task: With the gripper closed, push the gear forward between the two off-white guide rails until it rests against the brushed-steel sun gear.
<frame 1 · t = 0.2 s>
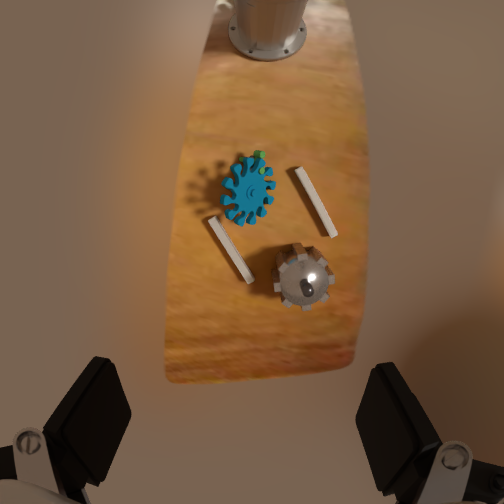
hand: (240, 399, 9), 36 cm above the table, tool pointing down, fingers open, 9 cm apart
sun gear: (298, 269, 46), on the table
gear: (250, 186, 43), on the table
guide rails: (273, 225, 44), on the table
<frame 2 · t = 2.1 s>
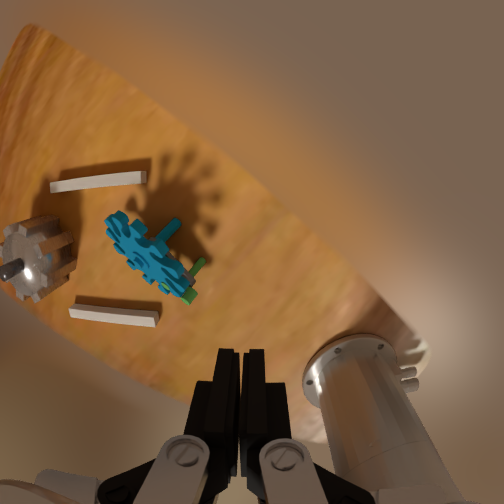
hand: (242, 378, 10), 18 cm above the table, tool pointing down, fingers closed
sun gear: (50, 250, 28), on the table
gear: (162, 248, 28), on the table
guide rails: (102, 250, 28), on the table
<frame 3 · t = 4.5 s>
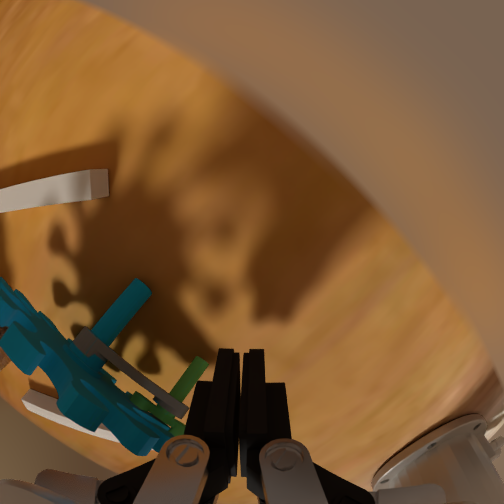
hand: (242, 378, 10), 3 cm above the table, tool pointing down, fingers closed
gear: (120, 331, 13), on the table, touching gripper
guide rails: (48, 324, 13), on the table
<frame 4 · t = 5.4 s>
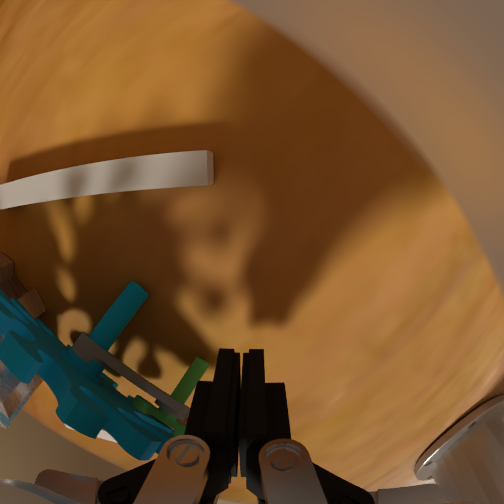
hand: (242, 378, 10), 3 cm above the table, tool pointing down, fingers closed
sun gear: (9, 317, 13), on the table
gear: (119, 334, 13), on the table, touching gripper, sun gear
guide rails: (107, 333, 13), on the table
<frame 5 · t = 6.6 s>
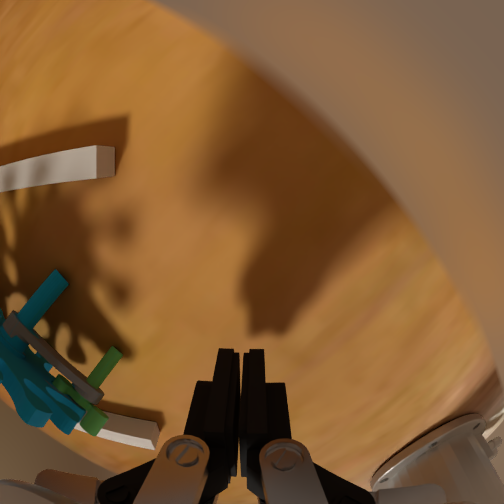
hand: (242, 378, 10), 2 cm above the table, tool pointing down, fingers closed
gear: (53, 318, 12), on the table
guide rails: (42, 315, 12), on the table
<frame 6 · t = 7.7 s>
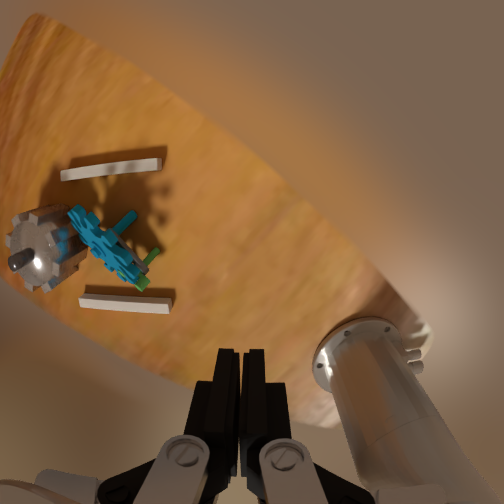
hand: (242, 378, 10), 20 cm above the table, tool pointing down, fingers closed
sun gear: (59, 239, 28), on the table
gear: (121, 239, 29), on the table
guide rails: (115, 238, 28), on the table
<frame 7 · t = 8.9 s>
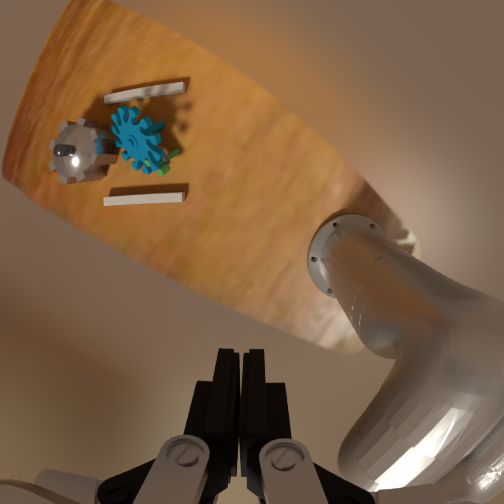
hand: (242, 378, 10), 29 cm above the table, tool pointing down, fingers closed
sun gear: (93, 151, 35), on the table
gear: (149, 145, 35), on the table
guide rails: (143, 144, 35), on the table
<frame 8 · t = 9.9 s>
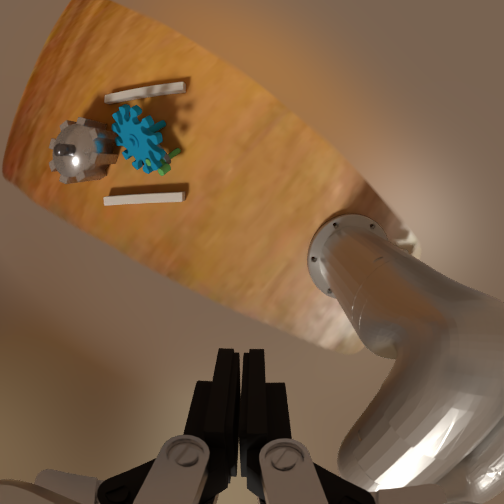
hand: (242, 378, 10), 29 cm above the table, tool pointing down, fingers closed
sun gear: (93, 151, 35), on the table
gear: (150, 144, 35), on the table
guide rails: (143, 144, 35), on the table
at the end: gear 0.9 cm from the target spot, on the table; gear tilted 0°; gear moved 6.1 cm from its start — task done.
